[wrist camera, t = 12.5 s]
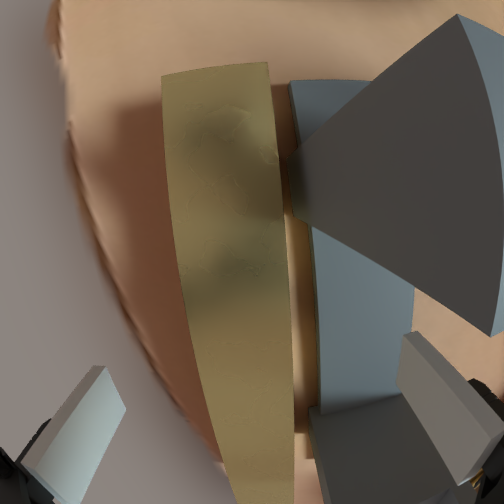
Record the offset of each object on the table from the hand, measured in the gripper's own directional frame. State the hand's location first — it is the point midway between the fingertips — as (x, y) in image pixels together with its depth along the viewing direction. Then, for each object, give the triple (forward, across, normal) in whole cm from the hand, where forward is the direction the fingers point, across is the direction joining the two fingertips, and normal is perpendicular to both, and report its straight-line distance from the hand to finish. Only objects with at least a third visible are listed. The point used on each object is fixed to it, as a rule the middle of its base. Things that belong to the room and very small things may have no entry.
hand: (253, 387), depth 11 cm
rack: (+5, +7, 0) cm, 8 cm away
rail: (+5, 0, 0) cm, 6 cm away
